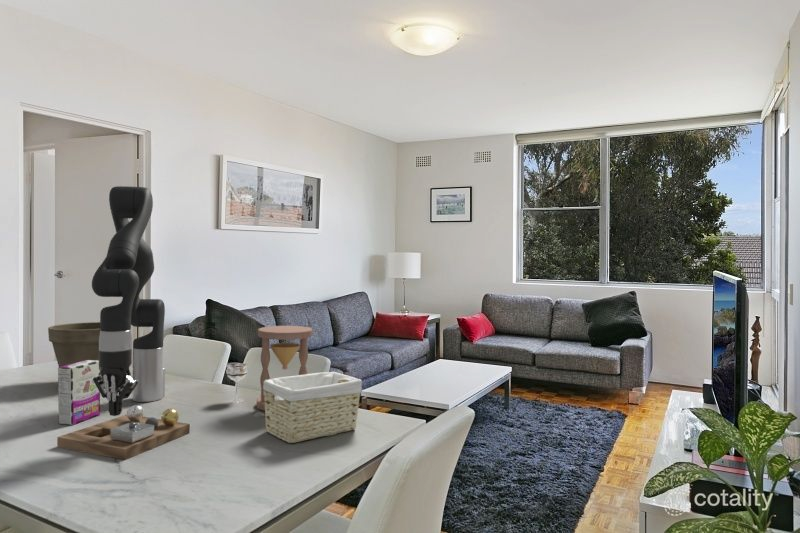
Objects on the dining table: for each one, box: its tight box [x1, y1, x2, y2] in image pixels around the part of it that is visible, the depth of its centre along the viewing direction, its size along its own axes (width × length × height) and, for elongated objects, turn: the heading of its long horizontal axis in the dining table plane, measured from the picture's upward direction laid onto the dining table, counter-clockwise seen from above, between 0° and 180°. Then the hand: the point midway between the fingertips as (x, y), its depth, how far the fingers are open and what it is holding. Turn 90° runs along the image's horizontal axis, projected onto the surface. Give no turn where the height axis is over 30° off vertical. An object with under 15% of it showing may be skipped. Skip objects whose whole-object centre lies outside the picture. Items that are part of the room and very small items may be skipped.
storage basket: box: [263, 371, 363, 444], centre depth 159 cm, size 24×16×15 cm
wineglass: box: [226, 362, 248, 404], centre depth 189 cm, size 7×7×12 cm
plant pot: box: [47, 321, 102, 371], centre depth 208 cm, size 25×25×22 cm
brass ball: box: [161, 408, 180, 426], centre depth 154 cm, size 4×4×4 cm
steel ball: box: [126, 404, 145, 421], centre depth 157 cm, size 4×4×4 cm
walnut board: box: [56, 414, 191, 461], centre depth 149 cm, size 22×22×2 cm
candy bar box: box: [57, 360, 101, 426], centre depth 165 cm, size 11×5×16 cm, turn 168°
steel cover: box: [110, 422, 154, 443], centre depth 143 cm, size 7×7×3 cm
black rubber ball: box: [145, 416, 158, 429], centre depth 150 cm, size 3×3×3 cm
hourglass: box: [255, 325, 314, 412], centre depth 185 cm, size 18×18×25 cm
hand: (115, 414), depth 145 cm, fingers closed
